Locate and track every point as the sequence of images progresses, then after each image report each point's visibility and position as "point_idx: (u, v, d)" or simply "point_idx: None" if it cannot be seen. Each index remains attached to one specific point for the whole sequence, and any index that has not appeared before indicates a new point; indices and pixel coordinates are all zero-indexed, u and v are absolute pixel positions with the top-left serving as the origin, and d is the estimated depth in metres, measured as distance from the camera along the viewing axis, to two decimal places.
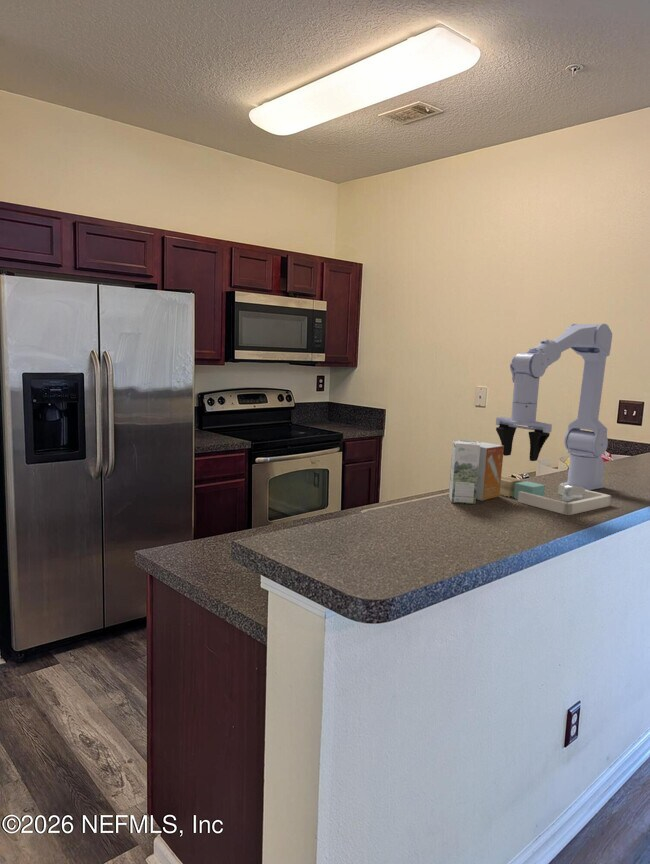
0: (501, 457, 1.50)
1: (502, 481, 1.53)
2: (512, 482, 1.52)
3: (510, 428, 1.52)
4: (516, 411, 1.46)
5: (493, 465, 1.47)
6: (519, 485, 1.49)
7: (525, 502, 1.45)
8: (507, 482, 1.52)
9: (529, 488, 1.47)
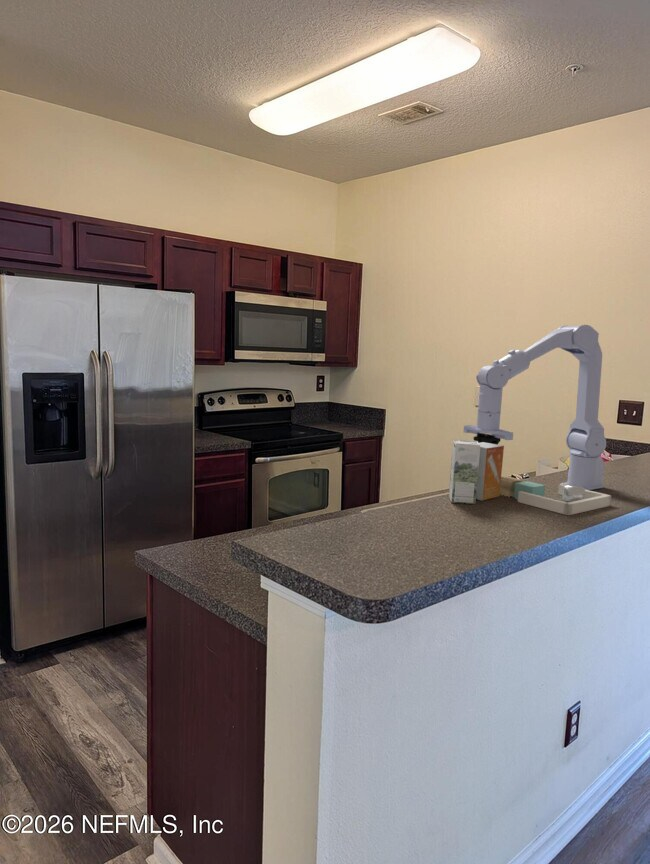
0: (501, 457, 1.50)
1: (502, 481, 1.53)
2: (512, 482, 1.52)
3: None
4: (481, 419, 1.57)
5: (493, 465, 1.47)
6: (519, 485, 1.49)
7: (525, 502, 1.45)
8: (507, 482, 1.52)
9: (529, 488, 1.47)
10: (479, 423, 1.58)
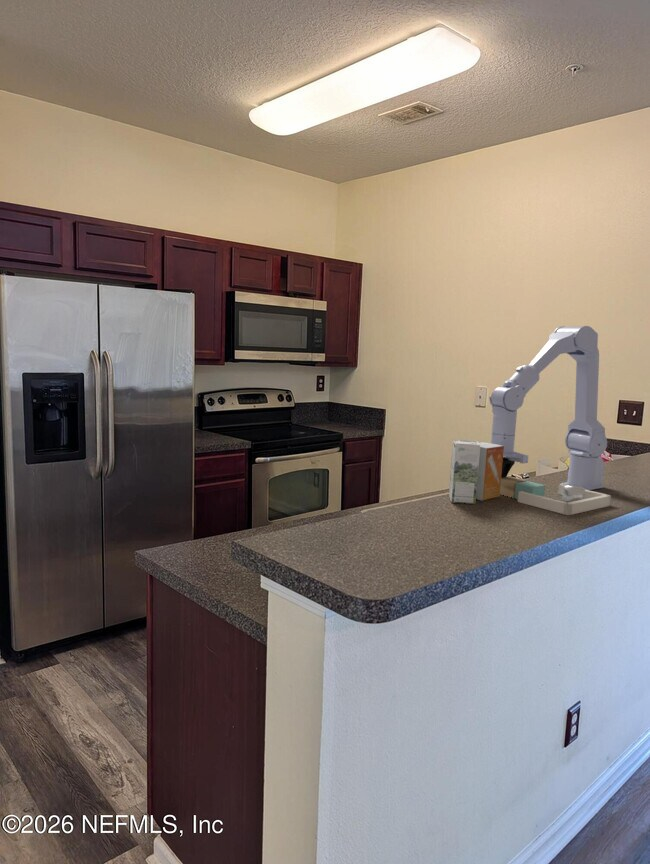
0: (501, 457, 1.50)
1: (506, 481, 1.52)
2: (517, 482, 1.51)
3: None
4: (495, 442, 1.54)
5: (493, 465, 1.47)
6: (519, 485, 1.49)
7: (525, 502, 1.45)
8: (511, 482, 1.51)
9: (529, 488, 1.47)
10: None
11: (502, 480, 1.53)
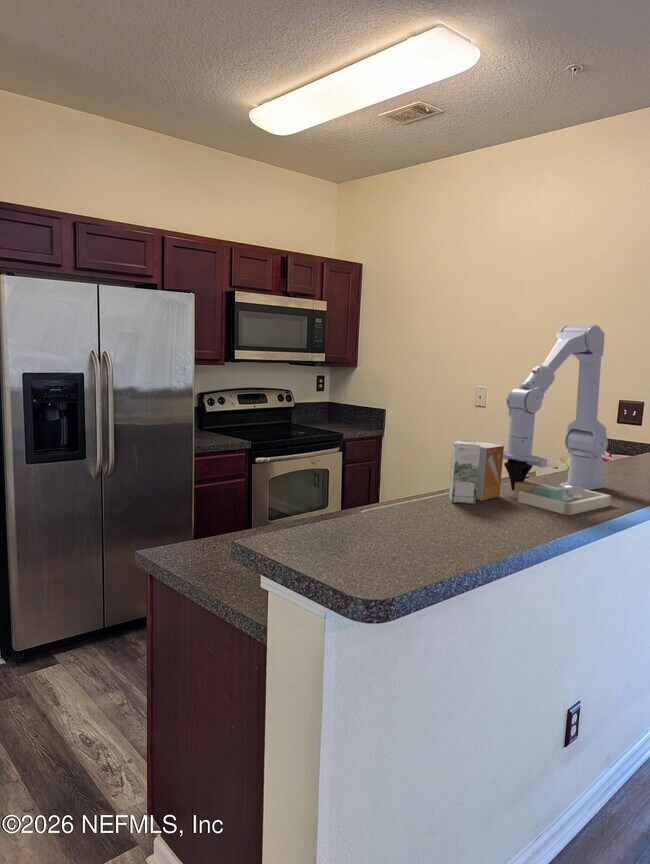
0: (501, 457, 1.50)
1: (524, 486, 1.48)
2: None
3: (518, 463, 1.52)
4: (512, 445, 1.50)
5: (493, 465, 1.47)
6: (537, 489, 1.45)
7: (525, 502, 1.45)
8: (529, 487, 1.47)
9: (548, 492, 1.43)
10: (510, 449, 1.50)
11: (519, 484, 1.49)
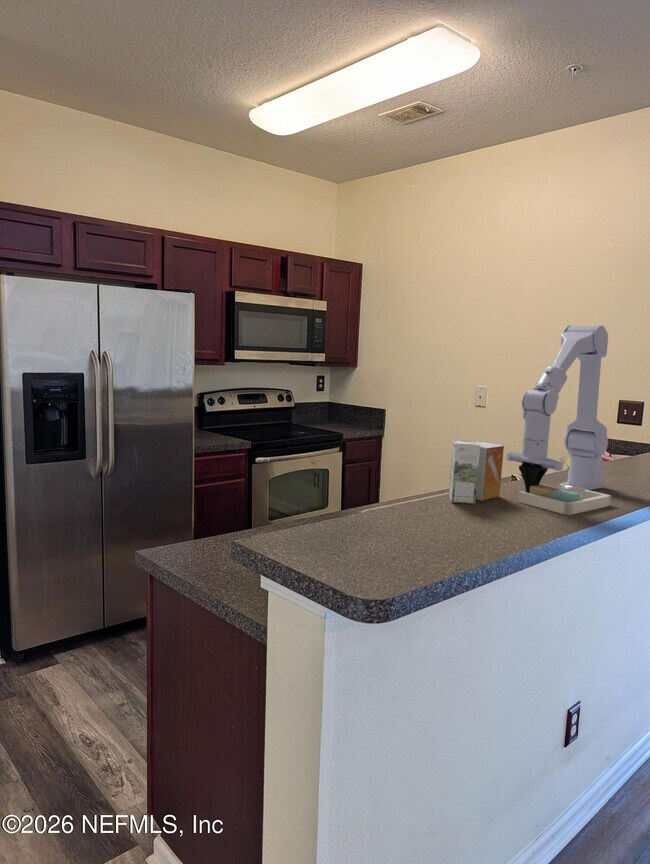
0: (501, 457, 1.50)
1: (540, 490, 1.44)
2: None
3: None
4: (527, 448, 1.46)
5: (493, 465, 1.47)
6: (553, 493, 1.42)
7: (525, 502, 1.45)
8: (545, 491, 1.43)
9: (565, 497, 1.39)
10: (525, 452, 1.47)
11: (535, 488, 1.45)
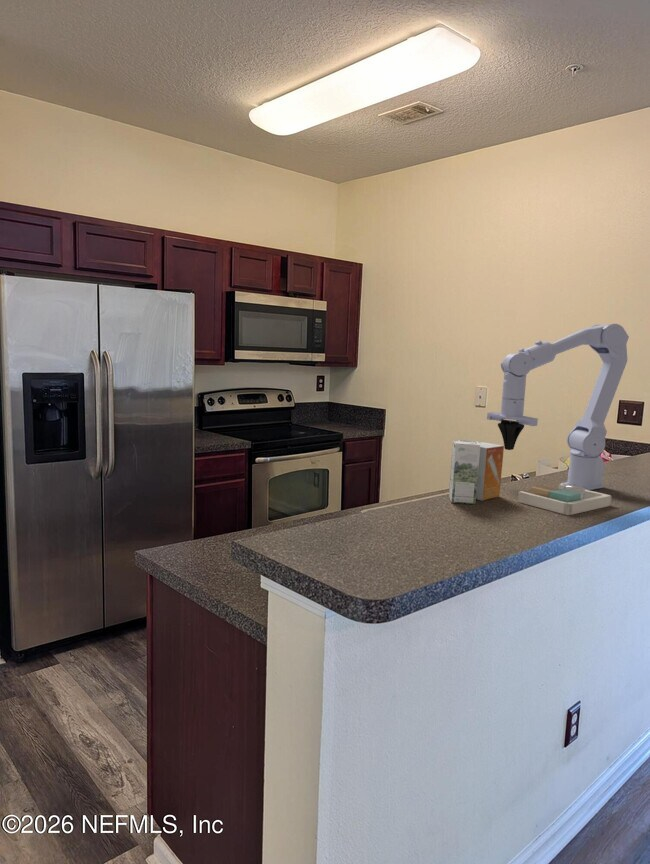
0: (501, 457, 1.50)
1: (540, 490, 1.44)
2: None
3: (511, 424, 1.63)
4: (505, 406, 1.60)
5: (493, 465, 1.47)
6: (554, 493, 1.42)
7: (525, 502, 1.45)
8: (545, 491, 1.43)
9: (565, 497, 1.39)
10: (503, 410, 1.61)
11: (535, 489, 1.45)
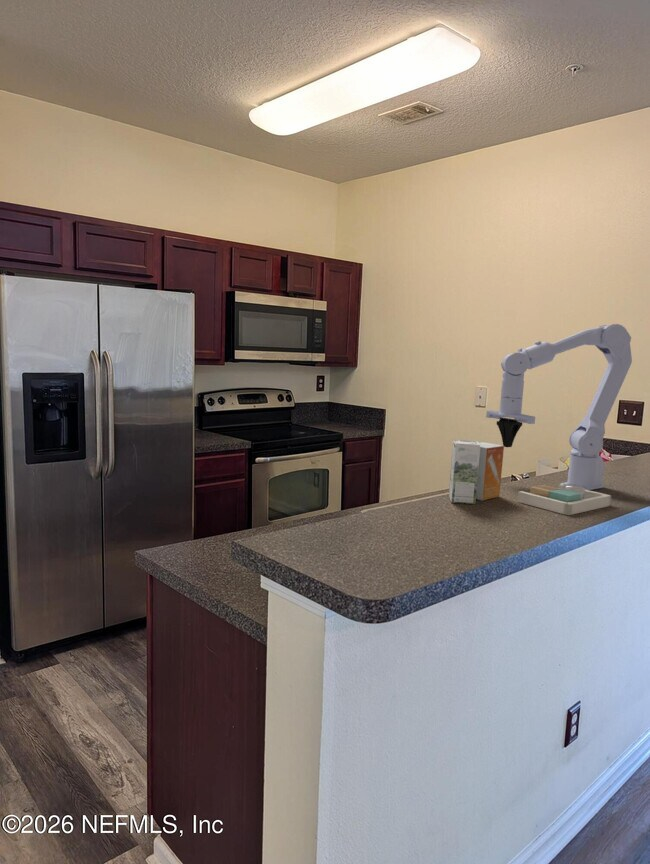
0: (501, 457, 1.50)
1: (540, 490, 1.44)
2: None
3: None
4: (504, 405, 1.65)
5: (493, 465, 1.47)
6: (554, 493, 1.42)
7: (525, 502, 1.45)
8: (545, 491, 1.43)
9: (565, 497, 1.39)
10: (502, 408, 1.65)
11: (535, 489, 1.45)
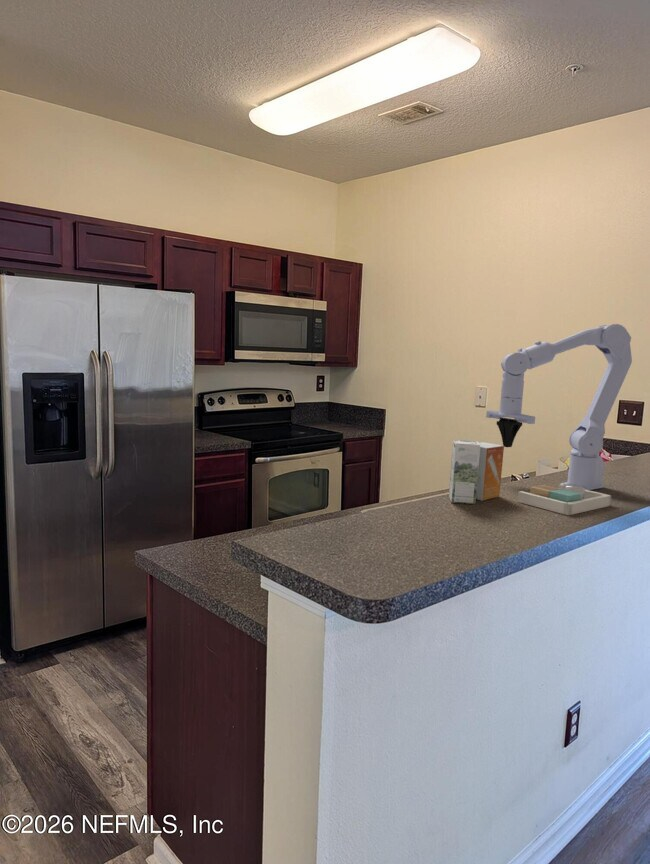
0: (501, 457, 1.50)
1: (540, 490, 1.44)
2: None
3: None
4: (504, 405, 1.65)
5: (493, 465, 1.47)
6: (554, 493, 1.42)
7: (525, 502, 1.45)
8: (545, 491, 1.43)
9: (565, 497, 1.39)
10: (502, 408, 1.65)
11: (535, 489, 1.45)
